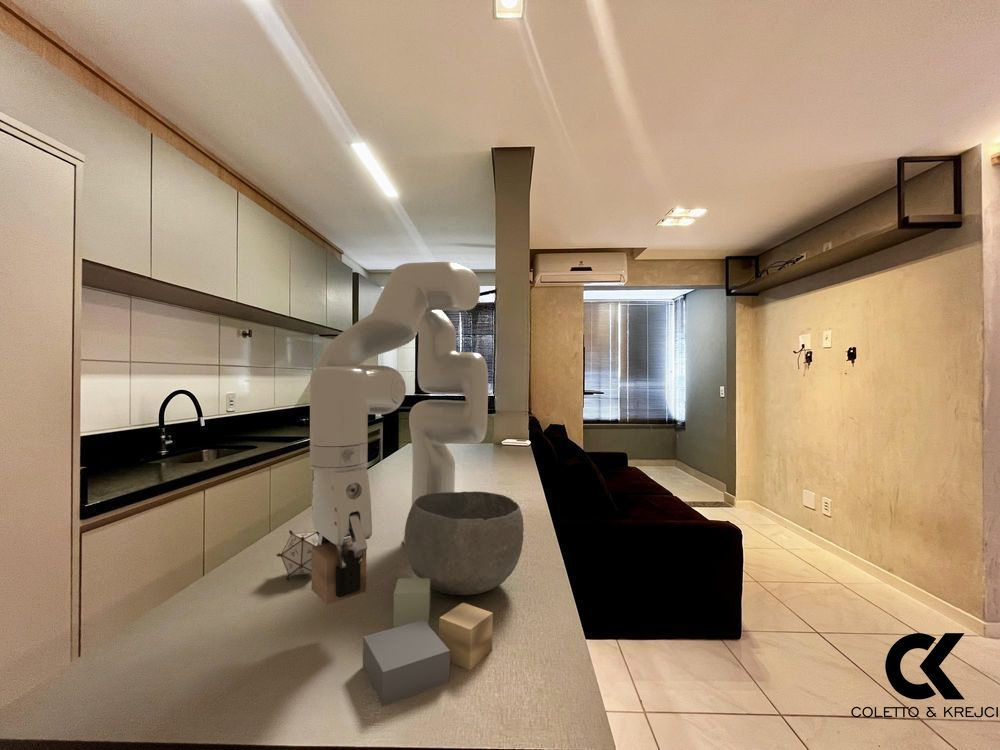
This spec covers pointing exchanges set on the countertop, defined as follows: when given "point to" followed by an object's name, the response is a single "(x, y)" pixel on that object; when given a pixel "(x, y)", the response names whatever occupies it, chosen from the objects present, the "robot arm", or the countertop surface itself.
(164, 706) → the countertop surface
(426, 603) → the sage cube
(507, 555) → the bowl
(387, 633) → the base block
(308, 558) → the game die
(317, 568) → the walnut cube
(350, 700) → the countertop surface
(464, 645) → the oak cube
